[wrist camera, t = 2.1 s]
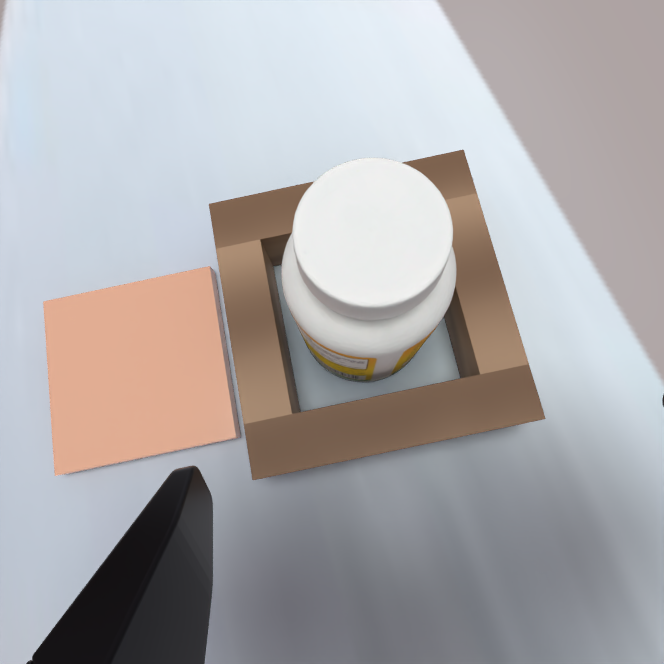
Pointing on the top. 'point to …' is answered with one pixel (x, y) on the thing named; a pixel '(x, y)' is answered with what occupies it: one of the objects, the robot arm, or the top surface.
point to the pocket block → (385, 410)
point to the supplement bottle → (369, 267)
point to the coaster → (138, 371)
